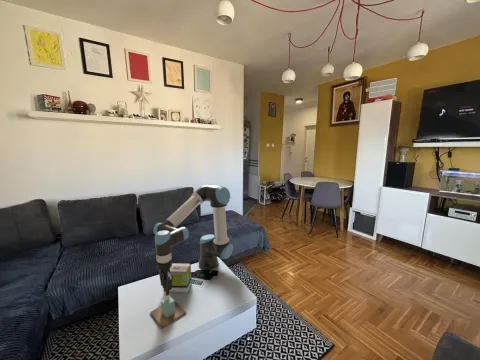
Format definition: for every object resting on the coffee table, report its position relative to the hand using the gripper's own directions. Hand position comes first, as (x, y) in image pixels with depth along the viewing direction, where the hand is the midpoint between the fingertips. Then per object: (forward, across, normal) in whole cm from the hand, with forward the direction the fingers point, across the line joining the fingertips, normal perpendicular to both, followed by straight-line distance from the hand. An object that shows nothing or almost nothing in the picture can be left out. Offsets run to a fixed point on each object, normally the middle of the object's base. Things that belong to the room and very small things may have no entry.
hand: (167, 299), depth 115 cm
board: (+9, 0, 0) cm, 9 cm away
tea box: (+9, -15, +15) cm, 23 cm away
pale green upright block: (+8, +1, 0) cm, 8 cm away
